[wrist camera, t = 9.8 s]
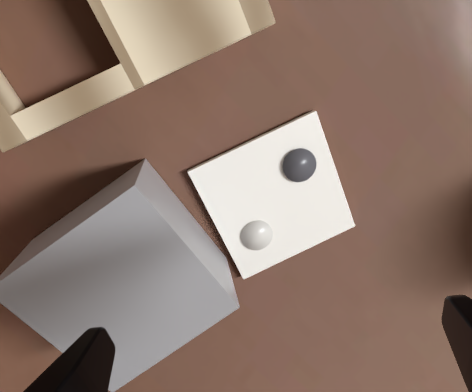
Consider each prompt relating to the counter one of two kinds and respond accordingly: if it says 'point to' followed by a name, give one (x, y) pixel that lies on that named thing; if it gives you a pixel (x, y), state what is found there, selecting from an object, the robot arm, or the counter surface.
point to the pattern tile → (274, 194)
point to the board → (136, 56)
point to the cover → (123, 275)
